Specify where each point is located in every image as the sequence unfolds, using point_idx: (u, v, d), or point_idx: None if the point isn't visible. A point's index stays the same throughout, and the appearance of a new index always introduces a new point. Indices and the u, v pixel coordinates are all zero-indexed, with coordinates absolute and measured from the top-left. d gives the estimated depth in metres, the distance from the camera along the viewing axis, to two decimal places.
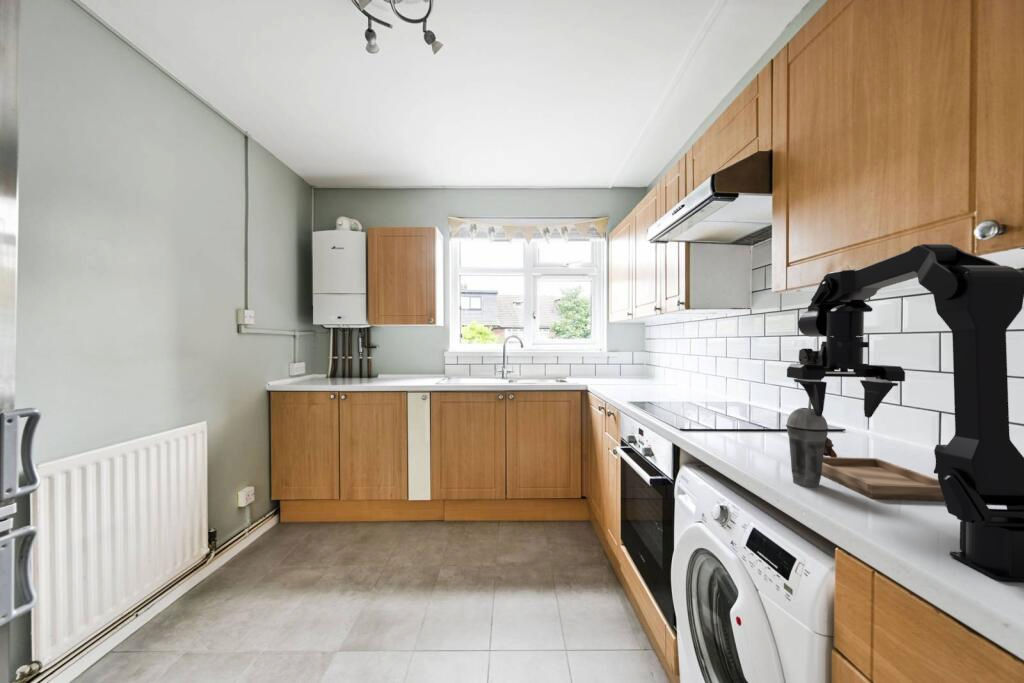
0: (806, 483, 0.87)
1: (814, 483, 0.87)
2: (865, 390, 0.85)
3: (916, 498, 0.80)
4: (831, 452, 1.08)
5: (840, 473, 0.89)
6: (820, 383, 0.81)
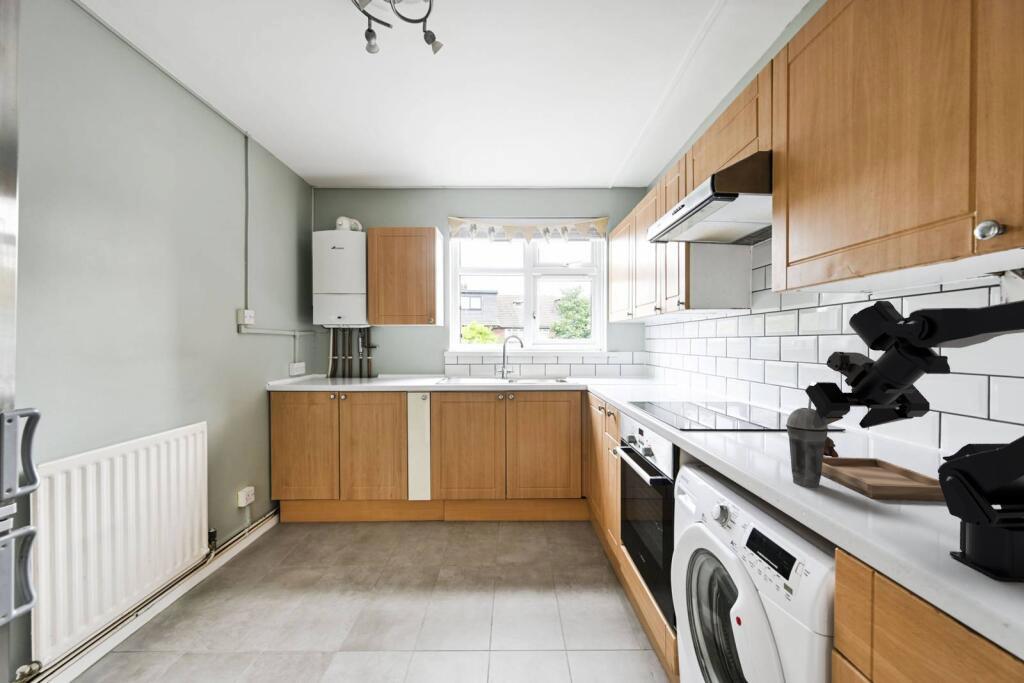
0: (806, 483, 0.87)
1: (814, 483, 0.87)
2: None
3: (916, 498, 0.80)
4: (833, 452, 1.08)
5: (840, 473, 0.89)
6: (836, 418, 0.74)
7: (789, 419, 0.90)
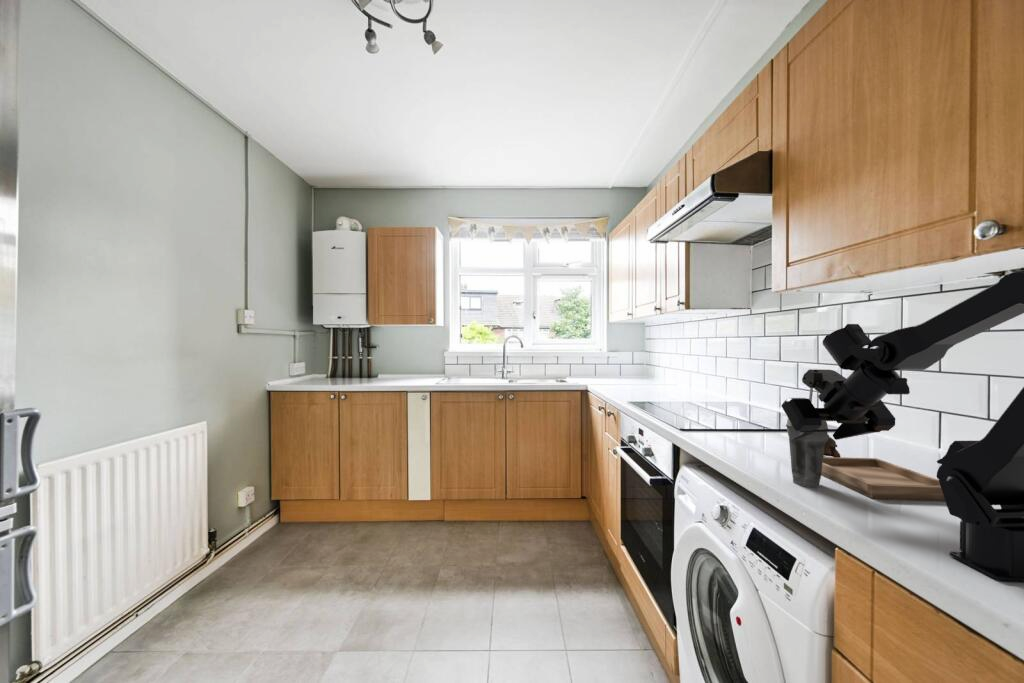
0: (806, 483, 0.87)
1: (814, 483, 0.87)
2: None
3: (916, 498, 0.80)
4: (834, 452, 1.08)
5: (840, 473, 0.89)
6: (809, 432, 0.80)
7: None
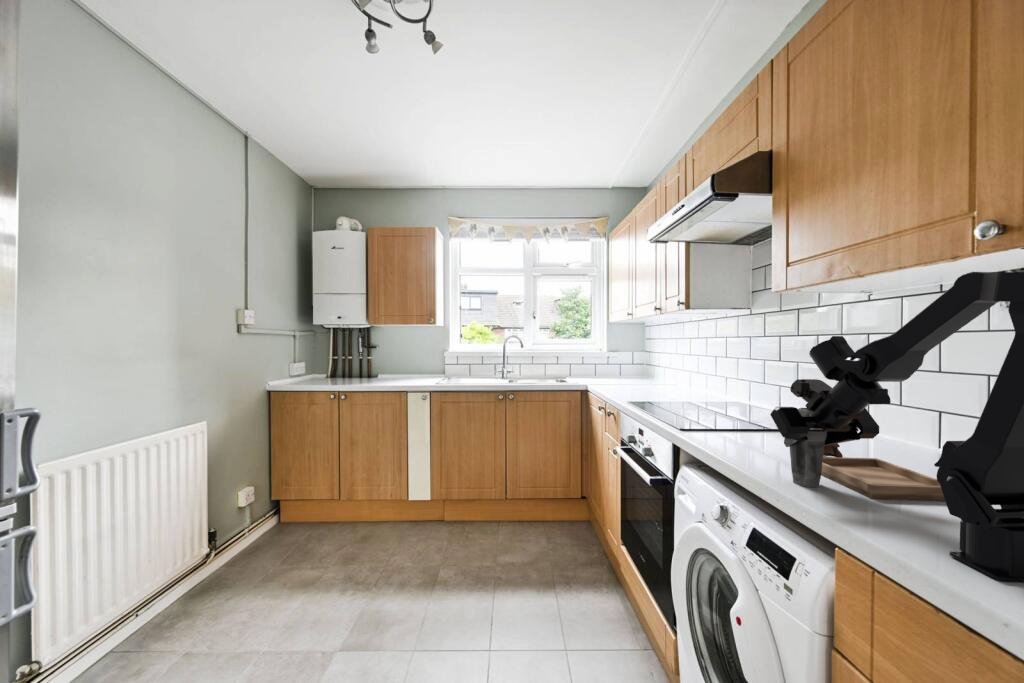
0: (806, 483, 0.87)
1: (814, 483, 0.87)
2: None
3: (916, 498, 0.80)
4: (837, 453, 1.07)
5: (840, 473, 0.89)
6: (802, 439, 0.83)
7: None
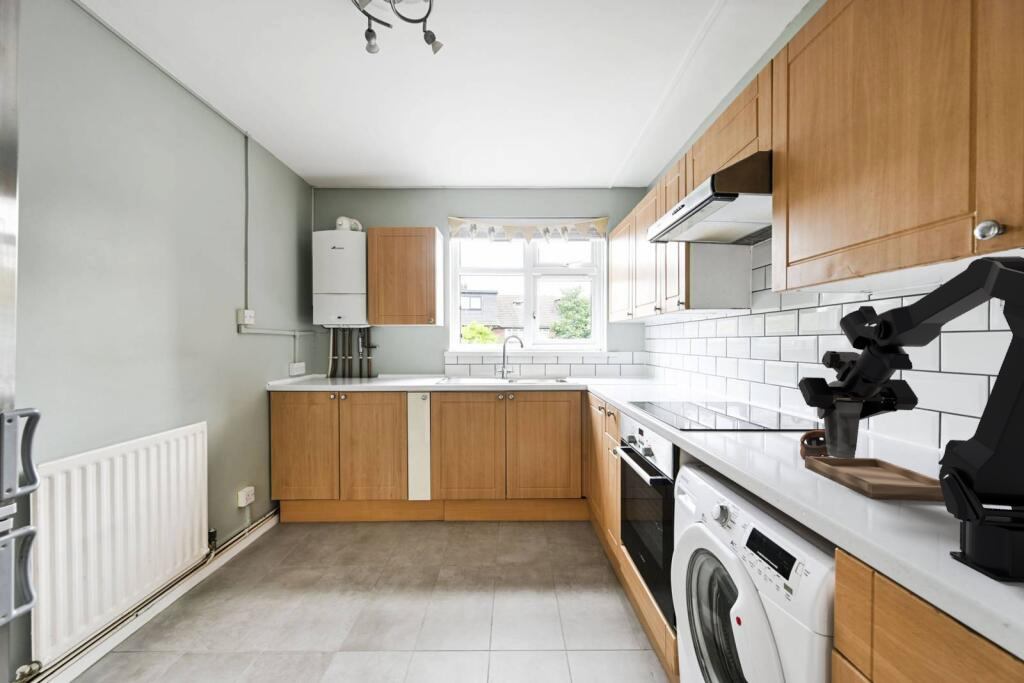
0: (839, 454, 0.88)
1: (847, 454, 0.87)
2: None
3: (916, 498, 0.80)
4: None
5: (840, 473, 0.89)
6: (829, 409, 0.85)
7: None
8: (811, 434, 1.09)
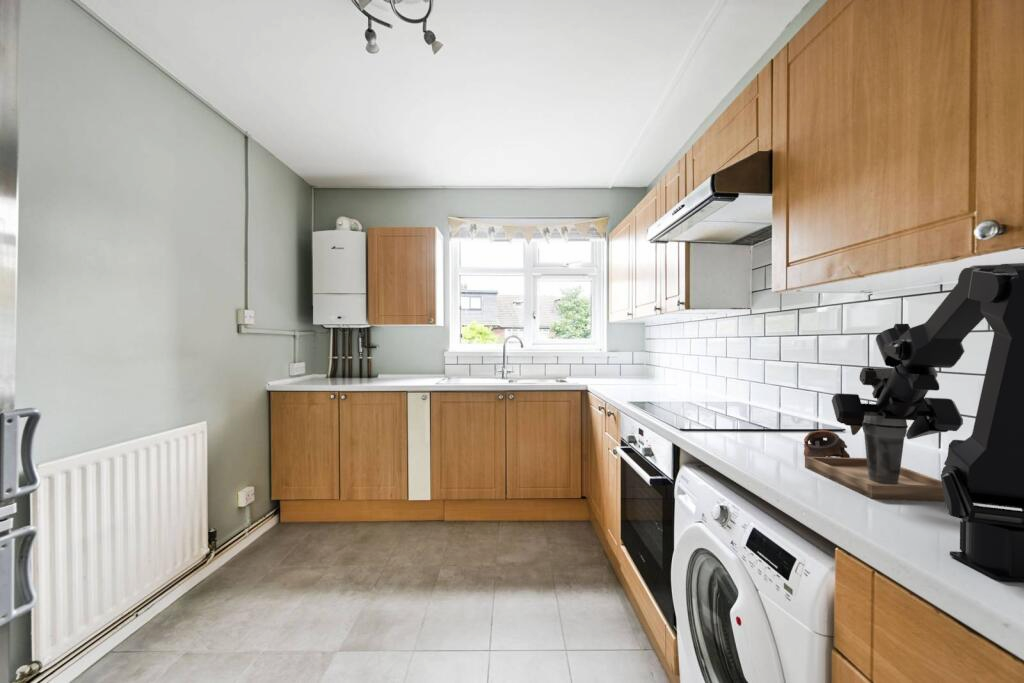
0: (878, 479, 0.87)
1: (888, 480, 0.86)
2: (917, 418, 0.85)
3: (916, 498, 0.80)
4: (844, 453, 1.07)
5: (840, 473, 0.89)
6: (855, 425, 0.85)
7: None
8: (815, 434, 1.09)
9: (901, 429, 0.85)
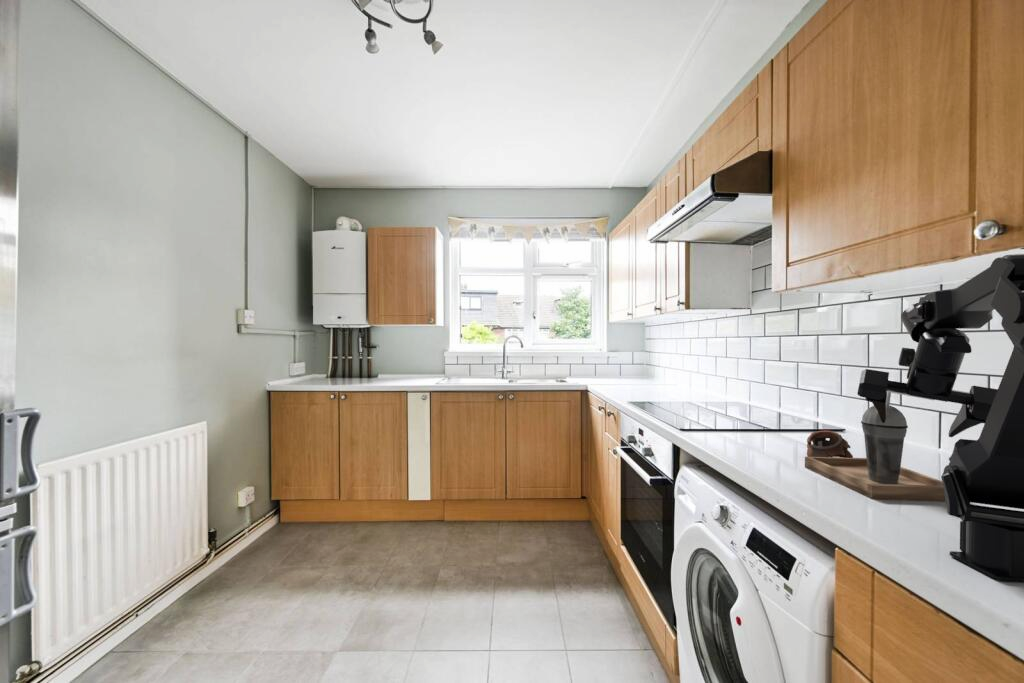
0: (878, 479, 0.87)
1: (888, 480, 0.86)
2: (960, 411, 0.76)
3: (916, 498, 0.80)
4: (847, 453, 1.07)
5: (840, 473, 0.89)
6: (877, 402, 0.79)
7: (863, 415, 0.90)
8: (818, 435, 1.09)
9: (901, 429, 0.85)
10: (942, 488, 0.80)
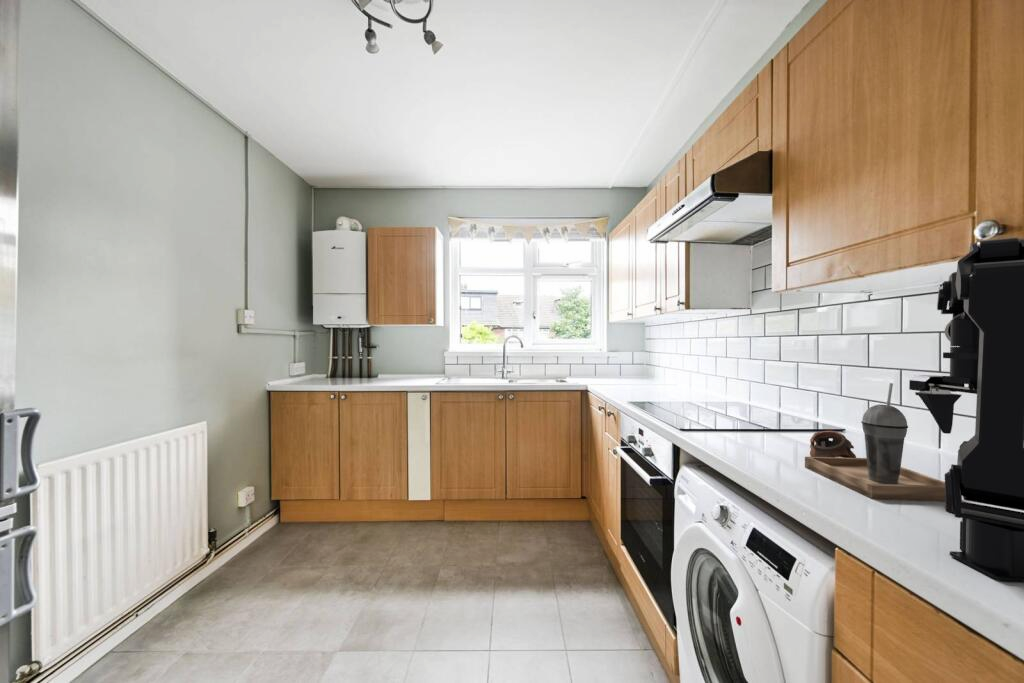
0: (878, 479, 0.87)
1: (888, 480, 0.86)
2: None
3: (916, 498, 0.80)
4: (850, 454, 1.06)
5: (840, 473, 0.89)
6: (921, 394, 0.79)
7: (863, 415, 0.90)
8: (821, 435, 1.08)
9: (901, 429, 0.85)
10: (942, 488, 0.80)
